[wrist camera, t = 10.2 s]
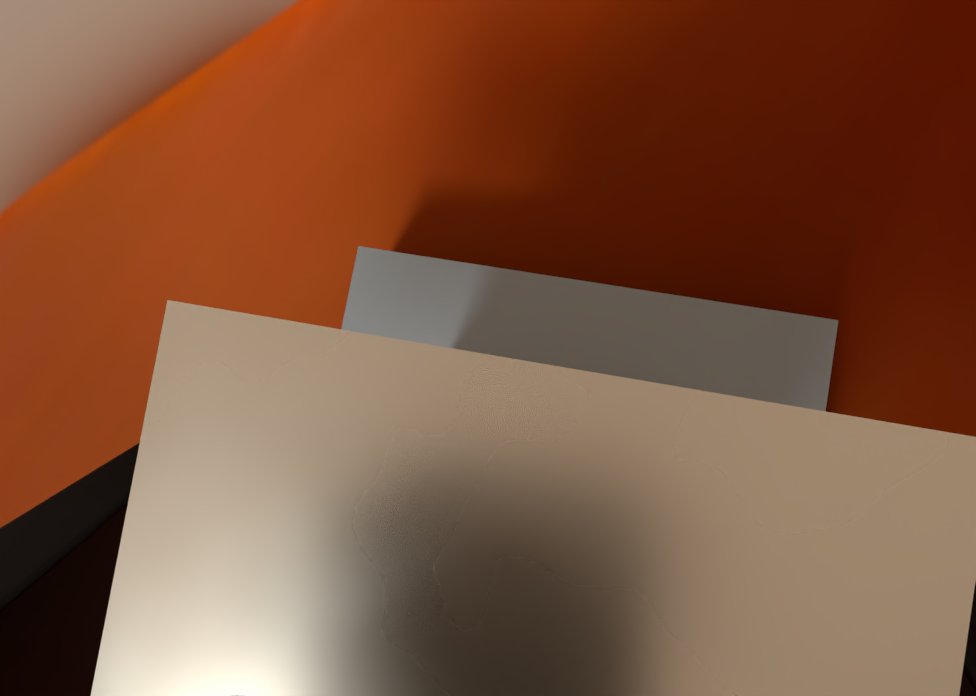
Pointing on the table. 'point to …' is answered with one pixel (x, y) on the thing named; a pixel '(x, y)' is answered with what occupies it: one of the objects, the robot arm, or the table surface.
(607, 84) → the table surface
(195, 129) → the table surface
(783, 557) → the cream block
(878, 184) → the table surface
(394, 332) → the grey block
